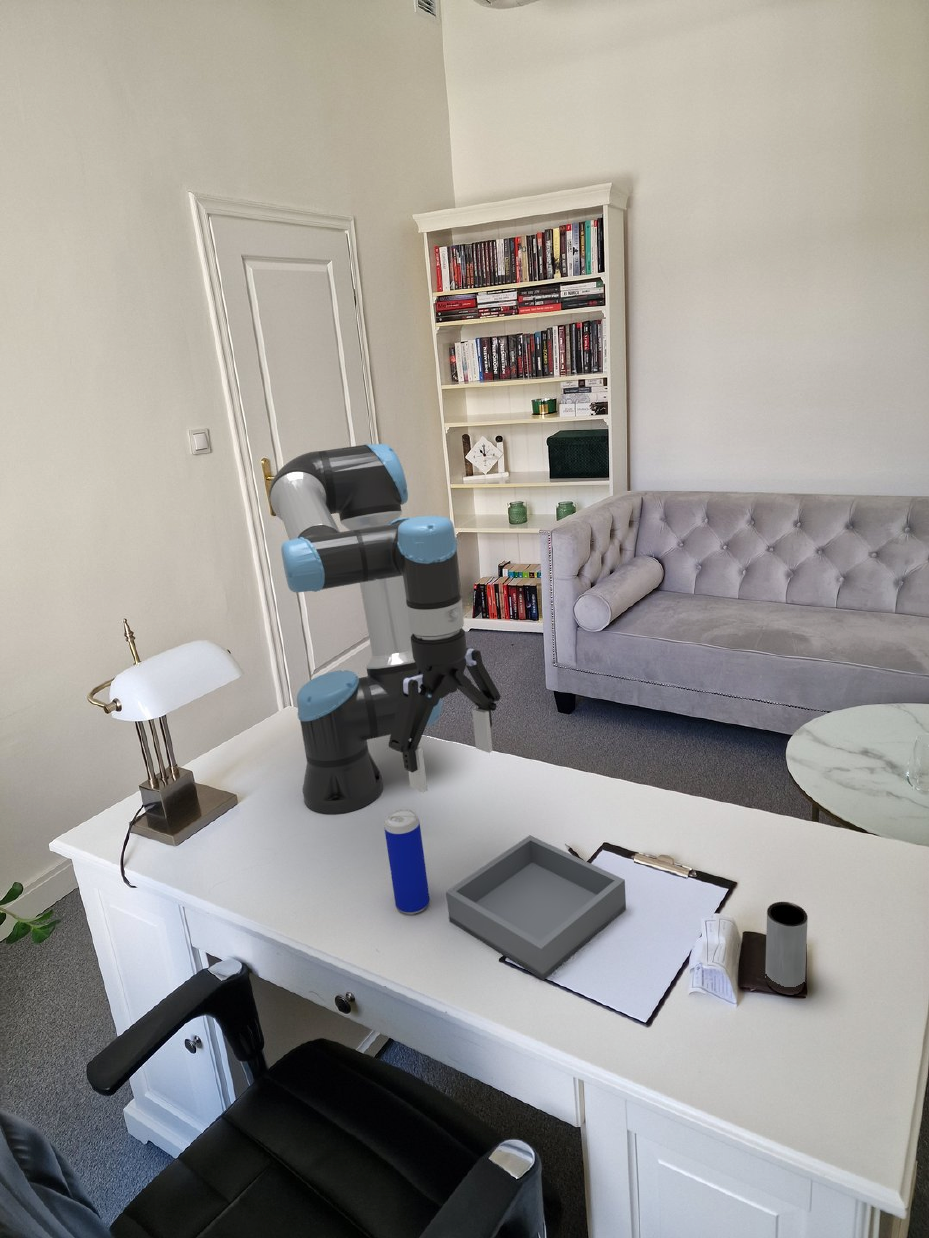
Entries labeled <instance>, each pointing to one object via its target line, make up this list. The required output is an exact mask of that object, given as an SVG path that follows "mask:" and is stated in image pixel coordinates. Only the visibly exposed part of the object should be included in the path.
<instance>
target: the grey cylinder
mask: <svg viewBox="0 0 929 1238" xmlns="http://www.w3.org/2000/svg"><path fill="white" fill-rule="evenodd" d="M808 922H809V921H808V913H807V912H806V911H805V910H804V908H803V907H801V906H800V905H798V904H796V903H793V902H789V901H778V902H774V903H772V904H770V905H769V906H768V907H767V910H766V931H765V932H766V940H765V974H767V976H768V977H769V978H770V979H771V980H772V981H774V982H776V983H777V984H780V985H781V986H784V987H796V986H798V985H800V984H802V983H803V982H805V983H806V968H807V967H806V965H807V945H808V944H807V943H808V942H807V940H808Z"/></svg>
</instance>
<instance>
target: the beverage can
mask: <svg viewBox="0 0 929 1238" xmlns="http://www.w3.org/2000/svg"><path fill="white" fill-rule="evenodd" d="M421 829H422V828H421V823H420V819H419V817H418V815H417V813H416V812H415V811H414V810H411V809H397V810H395V811H393V812H390V813H389V814H388V815H387V816H386V817H385V820H384V825H383V830H384V835H385V841H386V842H385V843H386V847H387V848H386V850H387V855H388V862H389V869H390V870H389V871H390V875H391V881H392V889H393V890H392V891H393V894H394V895H393V897H394V903H395V904H394V905H395V907H396V908H397V910H399V911H400V912H401V913H403V914H406V915H415V914H419V913H421V912H422V911H424V910H425V909H426V908H427V907H428V905H429V904H430V891H429V883H428V876H427V868H426V861H425V853H424V852H425V851H424V846H423V838H422V831H421Z"/></svg>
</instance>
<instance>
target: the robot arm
mask: <svg viewBox="0 0 929 1238" xmlns="http://www.w3.org/2000/svg"><path fill="white" fill-rule="evenodd" d="M268 493H269V502H270V506H271V509H272V511H273V512H274V515H276V517H277V518H279V520H280V521H282V522H283V526H284V528H285V531H286V534H287V538H288V540H286V541H284V542H283V543H282V544H281V557H282V563H283V564H282V565H283V569H284V574H285V579H286V582H287V586H288V588H289V590H290V591H291V592H293V593H298V594H299V593H305V592H314V593H315V592H320V591H322V590H328V589H333V588H338V587H344V586H350V585H356V584H359V587H360V593H361V599H362V603H363V604H362V605H363V609H364V615H365V620H366V626H367V632H368V638H369V643H370V650H371V658H370V660H369V661H368V663H367V664H366V666H365V667H366V668H365V669H366V674H367V676H363V677H359V676H358V675H357V674H356V673H355V672H354V671H351V670H333V671H329V672H326V673H323V674H320V675H318V676H315V677H313V678H312V679H310V680H309V681H307V682H306V683H305V684H304V685H302V686H301V688H300V689H299V691H298V692H297V695H296V705H297V718H298V720H299V721H300V728H301V734H302V740H303V747H304V753H305V758H306V766H305V774H304V778H303V779H304V780H303V786H302V797H303V802H304V804H305V805H306V807H307V808H309V809H310V810H312V811H314V812H317V813H321V814H332V815H333V814H342V813H343V814H344V813H349V812H353V811H356V810H359V809H362V808H364V807H366V806H368V805H370V804H372V803H373V802H374V801H376V799H378V798H379V797H380V796H381V794H382V793H383V789H384V783H383V777H382V774H381V772H380V770H379V768H378V766H377V764H376V763H375V761H374V759H373V756H372V754H371V752H370V751H369V745H368V740H372V739H376V738H377V739H378V738H382V737H387V736H389V741H388V748H389V749H391V750H394V751H397V752H399V753H401V754H402V760H403V766H404V769H405V770H406V771H408V781H409V787H410V788H412V789H414V790H417V791H418V792H421V793H425V792H427V791H428V785H427V775H426V774H427V773H426V768H425V760H424V759H425V758H424V751H423V748H422V747H420V746H419V745H420V742H421V740H422V736H423V734H424V732H425V729H426V727H431V726H432V725H435V724H436V723H437V722H438V721H439V719H440V715H441V712H442V703H443V700H442V699H443V698H445V697H447V696H448V695H449V694H453V693H455V692H457V691H460V693H462V694H463V695H464V696H465V697H466V698H467V699H468V700H469V701H471V702H472V703H473V704H474V706H475V707H474V708H472V709H471V713H472V722H473V733H474V742H475V749H477V750H479V751H482V752H485V753H489V754H490V753H492V752H493V744H492V743H493V742H492V731H491V728H492V726H493V719H492V711H493V712H494V711H496V709H497V707H498V706H497V703H496V702H499V701H500V700H501V693H500V692H499V690H498V688H497V687H496V685H495V683H494V681H493V680H492V678H491V676H490V674H489V672H488V670H487V668H486V667H485V665H484V663H483V659H482V654H481V651H480V650H477V649H474V648H470V647H467V638H466V637H467V636H466V632H465V629H463V627H464V626H465V625H464V624H465V621H464V611H463V604H462V603H463V602H462V591H461V580H460V570H459V561H458V541H457V539H456V534H455V527H454V524H453V522H452V520H451V519H450V518H448V517H447V516H439V515H424V516H417V517H416V516H415V517H401V515H402V514H403V511H402V505H404V504H406V503H407V502H408V500H409V491H408V484H407V479H406V475H405V472H404V469H403V466H402V463H401V461H400V459H399V456H398V454H397V453H396V451H395V450H394V449H393V447H391V446H390V445H389V444H386V443H376V444H369V443H366V444H359V445H355V446H348V447H339V448H333V449H327V450H316V451H310V452H306V453H303V454H301V455H298V456H296V457H295V458H293V459H291V460H290V461H288V462H286V464H285V465H283V466H282V467H281V468H280V469H279V471H277V473H276V474H275V476H274V477H273V479H272V480H271V484H270V487H269V492H268ZM334 514H338V516H339V520H340V521H339V522H340V524H341V525H342V526H344V527H345V528H347V530H346V531H340V529H339V527H338V525H337V523H336V521H335V519H334V517H333V515H334ZM465 670H468V673H469V674H470V676H471V678H472V679H473V681H474V683H475V684H476V686H475V685H474V684H473V682H472V680H471V679H470V678H468V676H467V675H465V673H464V672H465Z"/></svg>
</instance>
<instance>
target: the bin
mask: <svg viewBox="0 0 929 1238" xmlns="http://www.w3.org/2000/svg"><path fill="white" fill-rule="evenodd" d="M445 895H446V904H447V911H448V913H447V914H448V921H449V923H452V924H453V925H455V926H457V927H458V928H459V929H461V930H463V931H464V932H466V933H467V934H469V935H471V936H472V937H474V938H476V939H477V940H479V941H480V942H482V943H483V944H485V945H486V946H488V947H490V948H492V949H493V950H495V951H496V952H498V953H499V954H501V955H502V956H504V957H506V958H507V959H508V960H510V961H512V962H513V963H515V964H517V965H518V966H520V967H521V968H523V969H524V970H526V971H528V972H529V973H531V974H532V975H534V976H536V977H537V978H539V979H540V980H542V981H545V980H546V979H548V977H549V976H550V975H552V974H553V973H554V972H555V971H556V970H558V969H559V968H560V967H561V966H562V965H564V964H565V963H566V962H567V961H568V960H569V959H570V958H572V957H573V955H575V954H576V953H577V952H579V951H580V950H581V949H582V948H583V947H585V946H586V945H587V944H588V943H589V942H590V941H592V939H593V938H594V937H596V936H597V935H598V934H599V933H600V932H602V931H603V930H604V929H605V928H606V927H607V926H609V925H610V924H611V923H612V922H613V921H614V920H615V919H617V918H618V917H619V916H620V915H621V914H623V912H625V911H626V910H627V905H626V904H627V902H626V900H627V899H626V897H627V896H626V880H625V879H624V878H622V877H619V876H617V875H615V874H614V873H611V872H610V871H607V870H605V869H603V868H601V867H599V866H597V865H594V864H592V863H590V862H588V861H586V860H583V859H582V858H579V857H578V856H575V855H574V854H571V853H569V852H567V851H564V850H562V849H560V848H558V847H556V846H554V845H552V844H549V843H547V842H546V841H544V840H541V839H539V838H537V837H534V836H532V835H528V836H526V837H525V838H523V839H522V840H521V841H519V842H518V843H516V844H515V845H513V846H512V847H510V848H508V849H507V850H505V852H503V853H501V854H500V855H498V856H497V857H496V858H494V859H492V860H491V861H490V862H488V863H486V864H485V865H484V866H482V867H480V868H479V869H478V870H477V871H474V872H473V873H472V874H470V875H469V876H467V877H466V878H464V879H462V880H461V881H460V882H459V883H457V884H455V885H454V886H452V888H450V889H448V890H447V891H445Z"/></svg>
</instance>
